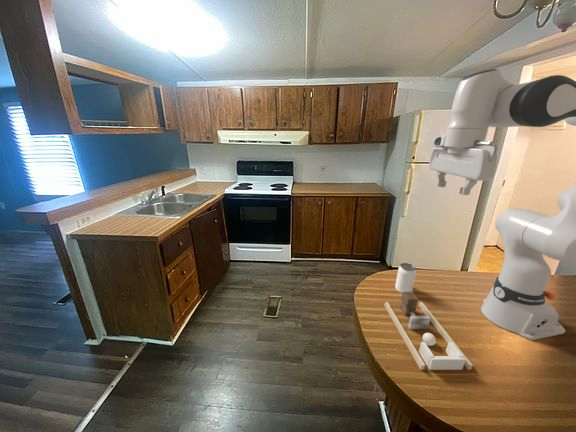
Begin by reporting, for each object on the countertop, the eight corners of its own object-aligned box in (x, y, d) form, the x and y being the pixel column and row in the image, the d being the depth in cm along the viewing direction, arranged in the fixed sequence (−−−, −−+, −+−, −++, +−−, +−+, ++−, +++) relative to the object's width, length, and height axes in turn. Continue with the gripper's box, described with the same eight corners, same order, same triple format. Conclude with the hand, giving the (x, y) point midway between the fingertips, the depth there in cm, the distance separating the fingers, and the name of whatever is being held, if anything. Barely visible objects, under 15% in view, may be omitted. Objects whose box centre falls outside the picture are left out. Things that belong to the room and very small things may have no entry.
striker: (412, 307, 86) (415, 291, 83) (427, 328, 76) (432, 312, 74) (396, 307, 86) (399, 291, 83) (409, 329, 76) (413, 312, 74)
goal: (448, 352, 68) (452, 341, 67) (462, 369, 63) (465, 359, 62) (418, 352, 68) (421, 342, 67) (429, 370, 63) (432, 359, 62)
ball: (430, 338, 73) (432, 330, 72) (437, 348, 69) (439, 339, 68) (419, 338, 73) (421, 330, 72) (425, 348, 69) (427, 339, 68)
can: (413, 297, 93) (419, 272, 89) (396, 295, 94) (401, 270, 90) (409, 287, 99) (414, 263, 95) (393, 285, 100) (397, 261, 96)
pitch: (420, 308, 87) (422, 301, 86) (469, 373, 64) (472, 365, 62) (383, 308, 87) (385, 302, 86) (419, 373, 63) (421, 365, 62)
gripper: (512, 141, 52) (493, 199, 57) (449, 139, 71) (439, 183, 76) (485, 141, 52) (469, 200, 57) (429, 139, 71) (421, 183, 76)
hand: (451, 190), depth 66 cm, fingers open, 8 cm apart
